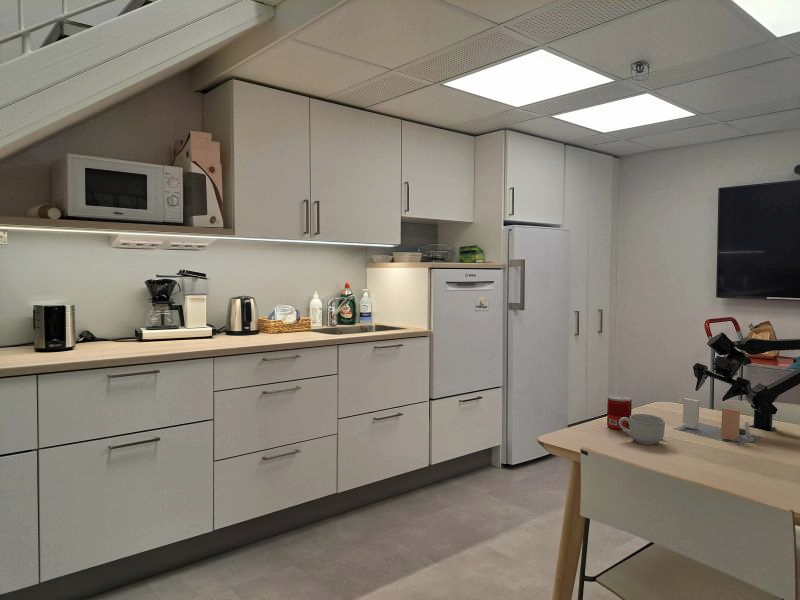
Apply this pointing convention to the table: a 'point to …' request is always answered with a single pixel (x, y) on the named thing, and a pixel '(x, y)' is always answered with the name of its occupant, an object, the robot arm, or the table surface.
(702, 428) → the panel
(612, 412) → the canned food
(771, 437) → the table surface
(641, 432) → the teacup
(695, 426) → the cream paddle
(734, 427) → the tan rectangular block
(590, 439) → the table surface
